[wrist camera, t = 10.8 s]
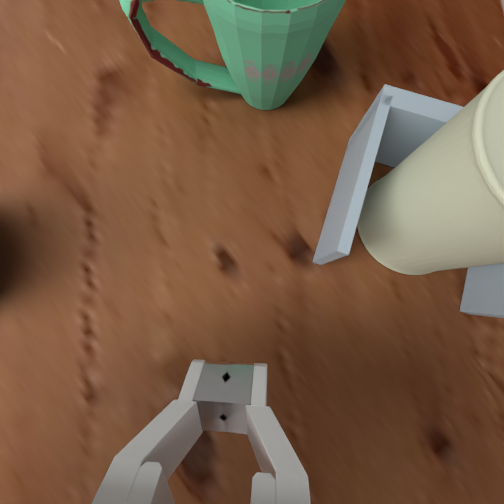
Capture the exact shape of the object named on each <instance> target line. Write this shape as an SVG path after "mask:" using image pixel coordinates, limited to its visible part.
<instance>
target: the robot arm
mask: <svg viewBox="0 0 504 504" xmlns="http://www.w3.org/2000/svg"><path fill="white" fill-rule="evenodd" d="M202 430H203V431H222V432H232V433H241V434H248V438H249V441H250V443H251V446H252V449H253V451H254V454H255V456H256V459H257V462H258V464H259V467H260V469H261V472H262V473H259V472H257V473H256V474H255V475H254V476H253V478H252V491H251V504H311V503H310V492H309V482H308V475H307V473H306V472H305V470H304V468H303V466H302V464H301V462H300V461H299V459H298V457H297V455H296V453H295V451H294V450H293V448H292V446H291V444H290V442H289V440H288V439H287V437H286V435H285V433H284V431H283V429H282V428H281V426H280V424H279V422H278V420H277V418H276V417H275V415H274V413H273V411H272V409H271V408H270V407H268V406H267V364H266V363H253V362H224V361H212V360H199V359H193V361H192V362H191V364H190V367H189V370H188V373H187V375H186V378H185V381H184V384H183V387H182V389H181V392H180V395H179V398H178V400H173V401H172V402H171V403H170V404H169V405H168V406H167V407H166V408H165V409H164V410H163V411H162V412H161V413H160V414H158V415H157V416H156V417H155V418H154V419H153V420H152V421H151V422H150V423H149V424H148V425H147V426H146V427H145V428H144V429H143V430H142V431H141V432H140V433H139V434H138V435H137V436H136V437H135V438H133V439H132V440H131V441H130V442H129V443H128V444H127V445H126V446H125V447H124V448H123V449H122V450H121V451H120V452H119V453H118V454H117V455H116V456H115V457H114V459H113V461H112V463H111V465H110V467H109V469H108V471H107V473H106V475H105V477H104V479H103V481H102V483H101V485H100V487H99V489H98V491H97V493H96V496H95V498H94V500H93V502H92V504H175V500H174V497H173V494H172V492H171V489H170V487H169V484H168V482H167V480H168V479H169V478H170V476H171V475H172V474H173V472H174V471H175V469H176V468H177V467H178V465H179V464H180V463H181V461H182V460H183V459H184V457H185V456H186V454H187V453H188V452H189V450H190V449H191V448H192V446H193V445H194V444H195V442H196V441H197V439H198V438H199V437H200V435H201V434H202V433H203V431H202Z"/></svg>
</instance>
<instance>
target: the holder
mask: <svg viewBox="0 0 504 504" xmlns="http://www.w3.org/2000/svg"><path fill="white" fill-rule="evenodd" d="M463 108H464V107H462V106H458V105H455V104H451V103H448V102H444V101H441V100H437V99H434V98H431V97H427V96H424V95H420V94H417V93H413V92H410V91H406V90H403V89H399V88H396V87H392V86H389V85H386V84H385V85H384V86H383V88H382V89H381V91H380V92H379V94H378V95H377V97H376V99H375V100H374V102H373V103H372V105H371V106H370V108H369V109H368V111H367V112H366V114H365V116H364V117H363V119H362V120H361V122H360V123H359V125H358V126H357V128H356V130H355V131H354V133H353V134H352V136H351V137H350V139H349V142H348V146H347V149H346V152H345V156H344V159H343V162H342V166H341V169H340V172H339V175H338V179H337V182H336V185H335V189H334V192H333V195H332V199H331V202H330V205H329V209H328V212H327V215H326V219H325V222H324V225H323V229H322V232H321V235H320V239H319V242H318V245H317V249H316V252H315V255H314V259H313V263H316V264H319V265H322V264H325V263H328V262H331V261H333V260H336V259H339V258H342V257H344V256H347V255H349V252H350V249H351V245H352V241H353V238H354V234H355V231H356V227H357V223H358V220H359V216H360V213H361V209H362V205H363V202H364V198H365V195H366V191H367V187H368V184H369V180H370V177H371V173H372V170H373V166H374V162H377V163H380V164H384V165H387V166H390V167H393V168H395V167H396V166H397V165H398V164H400V163H401V162H402V161H403V160H404V159H405V158H407V157H408V156H409V155H410V154H411V153H412V152H413V151H415V150H416V149H417V148H418V147H419V146H420V145H422V144H423V143H424V142H425V141H426V140H427V139H429V138H430V137H431V136H432V135H433V134H434V133H435V132H437V131H438V130H439V129H440V128H441V127H442V126H443V125H444V124H446V123H447V122H448V121H449V120H450V119H451V118H452V117H454V116H455V115H456V114H457V113H458V112H459V111H460V110H461V109H463ZM460 311H461V312H464V313H467V314H472V315H481V316H490V317H499V318H504V263H502V264H493V265H484V266H475V267H468V271H467V276H466V281H465V286H464V291H463V296H462V301H461V306H460Z"/></svg>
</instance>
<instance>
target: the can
mask: <svg viewBox="0 0 504 504" xmlns="http://www.w3.org/2000/svg"><path fill="white" fill-rule="evenodd" d="M357 228H358V233H359V236H360V238H361V241H362V243H363V244H364V246H365V248H366V249H367V251H368V252H369V253H370V254H371V255H372V257H373V258H374V259H376V260H377V261H378V262H379V263H381V264H382V265H384V266H385V267H387V268H389V269H391V270H393V271H396V272H399V273H403V274H408V275H422V274H428V273H432V272H435V271H440V270H448V269H457V268H466V267H475V266H484V265H493V264H502V263H504V70H503V71H502V72H501V73H499V74H498V75H497V76H496V77H495V78H494V79H493V80H492V81H491V82H490V83H489V85H488V86H487V87H486V88H485V89H484V90H482V91H481V92H480V93H479V94H478V95H477V96H476V97H475V98H474V99H473V100H472V101H470V102H469V103H468V104H467V105H466V106H465V107H464V108H463V109H461V110H460V111H459V112H458V113H457V114H456V115H455V116H454V117H452V118H451V119H450V120H449V121H448V122H447V123H446V124H444V125H443V126H442V127H441V128H440V129H439V130H438V131H437V132H435V133H434V134H433V135H432V136H431V137H430V138H429V139H427V140H426V141H425V142H424V143H423V144H422V145H420V146H419V147H418V148H417V149H416V150H415V151H413V152H412V153H411V154H410V155H409V156H408V157H407V158H405V159H404V160H403V161H402V162H401V163H400V164H398V165H397V166H396V167H395V168H394V169H393V170H391V171H390V172H389V173H388V174H387V175H385V176H384V177H382V178H381V179H379V180H377V181H376V182H375V183H373V184H372V185H371V186H370V187H369V188H368V189H367V191H366V195H365V198H364V202H363V205H362V209H361V213H360V216H359V220H358V223H357Z"/></svg>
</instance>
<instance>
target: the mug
mask: <svg viewBox="0 0 504 504" xmlns="http://www.w3.org/2000/svg"><path fill="white" fill-rule="evenodd" d="M147 1H152V0H120V3H121V6H122V9H123V11H124V13H125V14H126V16H127V18H128V19H129V21H130V22H131V24H132V26H133V27H134V29H135V31H136V32H137V34H138V36H139V37H140V39H141V41H142V42H143V44H144V46H145V47H146V49H147V51H148V52H149V54H150V56H151V57H152V58H154V59H155V60H157V61H159V62H160V63H162V64H163V65H165V66H167V67H168V68H170V69H172V70H173V71H175V72H176V73H178V74H180V75H181V76H183V77H185V78H186V79H188V80H189V81H191V82H193V83H194V84H196V85H199V86H204V87H209V88H214V89H218V90H223V91H228V92H233V93H237V94H241V95H242V96H243V98H244V99H245V101H246V102H247V103H248V104H249V105H251V106H252V107H254V108H257V109H260V110H272V109H275V108H278V107H279V106H281V105H283V104H284V103H285V101H286V100H287V99H288V98H289V96H290V95H291V94H292V93H293V91H294V90H295V89H296V87H297V86H298V85H299V83H300V82H301V81H302V79H303V78H304V76H305V75H306V73H307V71H308V70H309V68H310V67H311V65H312V64H313V62H314V60H315V59H316V57H317V55H318V53H319V51H320V49H321V47H322V45H323V43H324V41H325V39H326V37H327V35H328V33H329V31H330V29H331V27H332V25H333V23H334V21H335V20H336V18H337V16H338V14H339V12H340V10H341V8H342V6H343V4H344V3H345V1H346V0H178V1H185V2H191V3H198V4H204V6H205V8H206V11H207V13H208V16H209V19H210V21H211V24H212V26H213V30H214V33H215V36H216V39H217V43H218V46H219V49H220V52H221V54H222V57H223V60H224V62H225V64H226V66H227V67H223V66H219V65H215V64H211V63H207V62H202V61H198V60H194V59H193V58H191V57H190V56H189V55H187V54H186V53H185V52H183V51H182V50H181V49H180V48H178V47H177V46H176V45H174V44H173V43H172V42H170V41H169V40H168V39H167V38H165V37H164V36H163V35H161V34H160V33H159V32H158V31H156V30H155V29H154V28H152V27H151V25H150V23H149V21H148V19H147V17H146V15H145V13H144V11H143V9H142V2H147Z"/></svg>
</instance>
